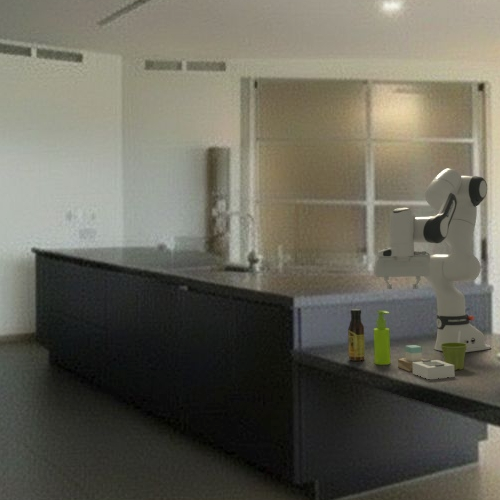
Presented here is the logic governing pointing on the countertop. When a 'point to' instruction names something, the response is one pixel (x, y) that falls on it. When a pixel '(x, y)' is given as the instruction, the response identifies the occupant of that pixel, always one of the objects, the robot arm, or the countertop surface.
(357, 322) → the sauce bottle
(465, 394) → the countertop surface
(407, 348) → the plug
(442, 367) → the port
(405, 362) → the brown wooden square frame
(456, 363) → the plant pot
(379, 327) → the soap dispenser
